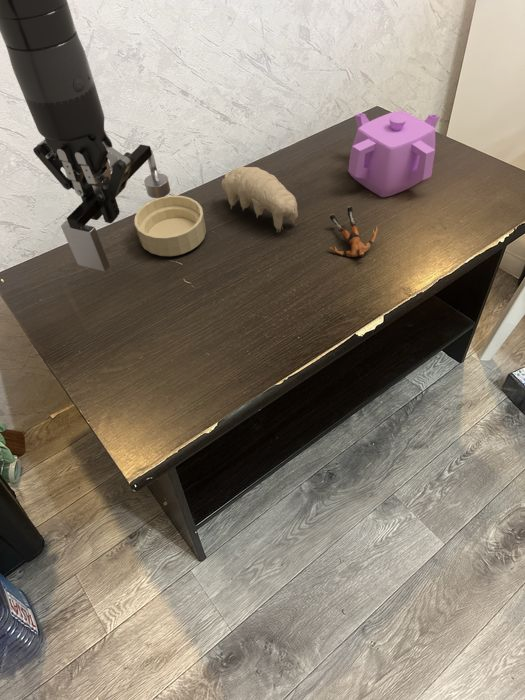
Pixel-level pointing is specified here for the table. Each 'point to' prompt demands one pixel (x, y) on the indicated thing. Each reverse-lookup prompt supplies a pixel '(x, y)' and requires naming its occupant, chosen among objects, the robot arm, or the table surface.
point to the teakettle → (392, 152)
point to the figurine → (352, 238)
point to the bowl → (170, 225)
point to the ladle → (75, 228)
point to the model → (260, 193)
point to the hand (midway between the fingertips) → (105, 217)
